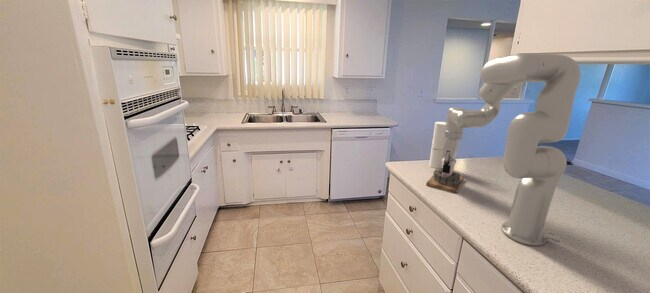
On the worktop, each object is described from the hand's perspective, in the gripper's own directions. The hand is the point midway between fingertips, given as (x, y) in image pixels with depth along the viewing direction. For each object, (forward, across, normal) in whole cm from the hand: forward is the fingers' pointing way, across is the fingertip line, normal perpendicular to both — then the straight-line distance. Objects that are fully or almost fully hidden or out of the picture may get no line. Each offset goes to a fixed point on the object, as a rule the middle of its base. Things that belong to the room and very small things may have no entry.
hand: (447, 170), depth 131 cm
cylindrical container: (+7, -20, -10) cm, 24 cm away
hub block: (+7, 0, 0) cm, 7 cm away
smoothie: (+4, 0, 0) cm, 4 cm away
